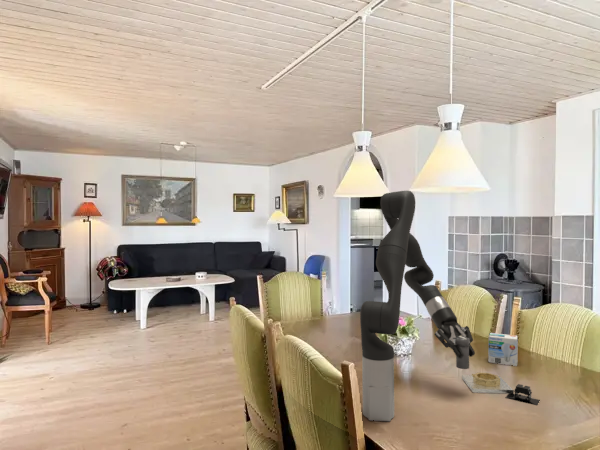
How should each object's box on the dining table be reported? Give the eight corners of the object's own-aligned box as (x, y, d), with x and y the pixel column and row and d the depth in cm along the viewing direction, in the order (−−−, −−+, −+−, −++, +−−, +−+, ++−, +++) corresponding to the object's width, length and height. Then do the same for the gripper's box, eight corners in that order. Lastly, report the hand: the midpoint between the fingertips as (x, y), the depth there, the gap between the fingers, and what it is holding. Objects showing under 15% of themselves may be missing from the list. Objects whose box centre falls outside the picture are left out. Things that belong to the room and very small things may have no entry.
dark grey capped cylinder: (472, 368, 140) (472, 338, 140) (460, 369, 139) (460, 339, 139) (464, 364, 144) (464, 335, 144) (452, 365, 143) (452, 336, 143)
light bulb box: (488, 362, 173) (487, 336, 173) (489, 358, 179) (489, 332, 179) (517, 366, 168) (517, 339, 168) (518, 361, 174) (517, 335, 174)
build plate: (547, 402, 136) (547, 388, 136) (542, 410, 130) (542, 395, 130) (505, 392, 144) (505, 379, 144) (498, 399, 138) (498, 385, 138)
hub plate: (513, 393, 141) (513, 382, 141) (472, 392, 143) (472, 380, 143) (499, 379, 154) (499, 369, 154) (462, 378, 156) (462, 368, 156)
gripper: (429, 307, 145) (456, 352, 134) (461, 304, 151) (489, 347, 140) (419, 320, 150) (444, 364, 139) (450, 317, 156) (477, 359, 145)
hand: (467, 356), depth 140 cm, fingers closed on dark grey capped cylinder, 4 cm apart
